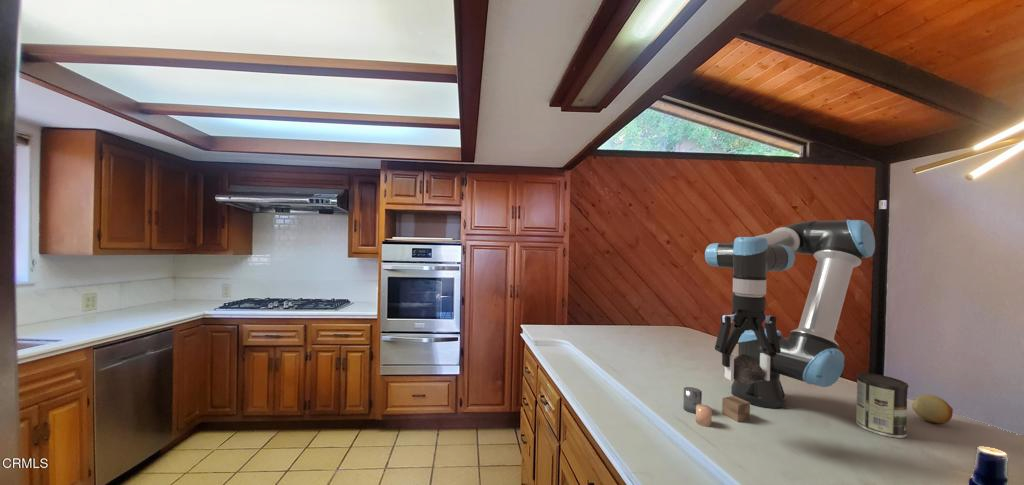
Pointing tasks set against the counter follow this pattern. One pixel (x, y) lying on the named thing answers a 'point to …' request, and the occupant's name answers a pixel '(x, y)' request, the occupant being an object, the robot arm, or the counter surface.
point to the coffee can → (882, 405)
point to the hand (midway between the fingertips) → (746, 378)
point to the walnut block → (736, 408)
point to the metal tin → (692, 399)
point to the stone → (747, 370)
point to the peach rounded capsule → (703, 415)
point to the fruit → (932, 409)
